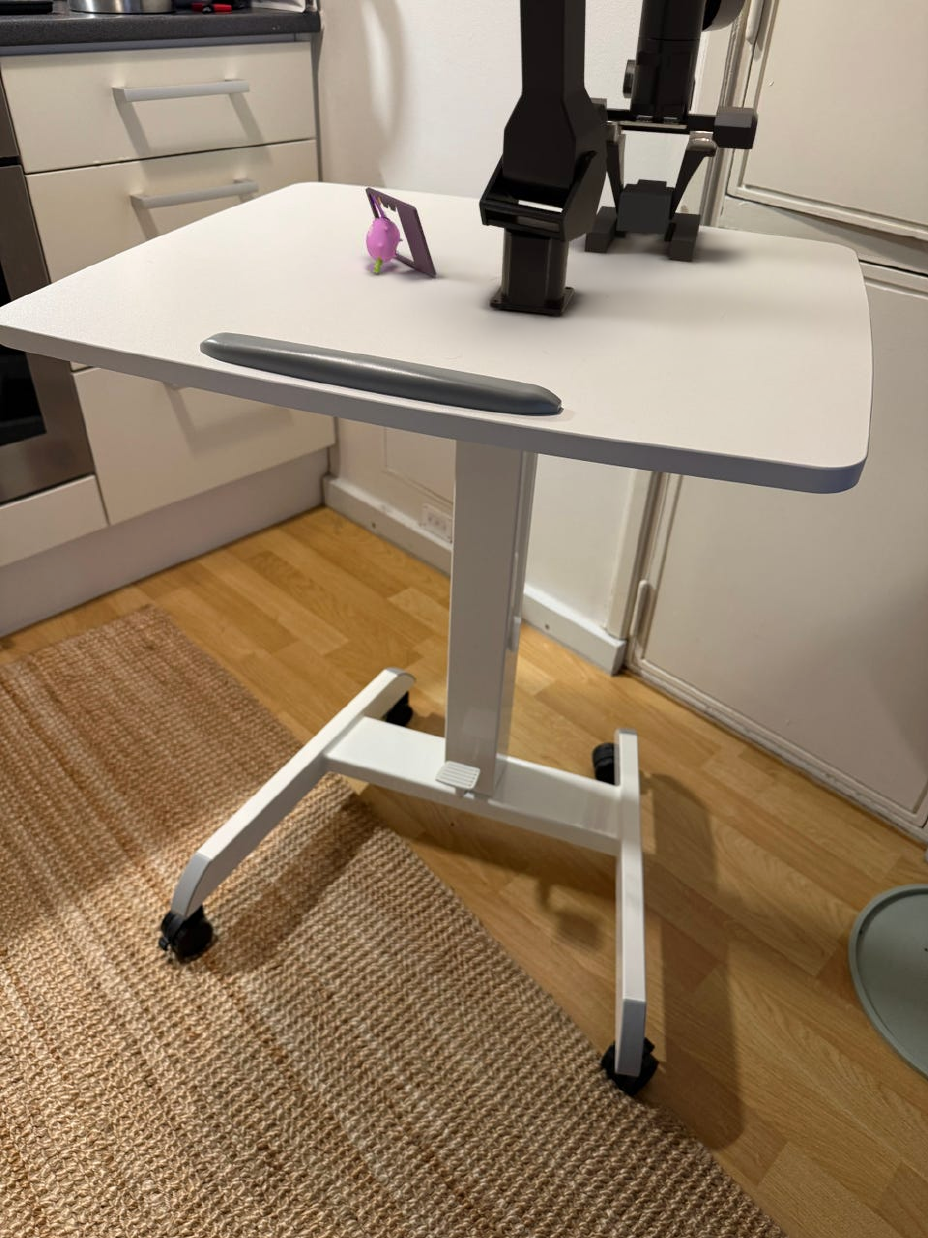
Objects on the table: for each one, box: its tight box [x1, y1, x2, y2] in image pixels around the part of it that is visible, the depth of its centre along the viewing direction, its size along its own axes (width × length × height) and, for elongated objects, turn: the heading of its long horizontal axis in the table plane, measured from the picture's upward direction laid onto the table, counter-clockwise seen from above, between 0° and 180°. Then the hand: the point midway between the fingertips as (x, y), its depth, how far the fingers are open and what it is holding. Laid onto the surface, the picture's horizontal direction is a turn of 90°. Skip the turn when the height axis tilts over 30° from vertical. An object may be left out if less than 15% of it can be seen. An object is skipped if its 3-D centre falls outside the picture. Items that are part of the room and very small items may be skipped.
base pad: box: [583, 205, 702, 262], centre depth 96 cm, size 11×11×2 cm
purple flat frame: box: [365, 186, 437, 278], centre depth 86 cm, size 7×5×9 cm
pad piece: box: [616, 178, 675, 236], centre depth 93 cm, size 8×5×4 cm, turn 165°
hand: (644, 216), depth 93 cm, fingers closed on pad piece, 5 cm apart
